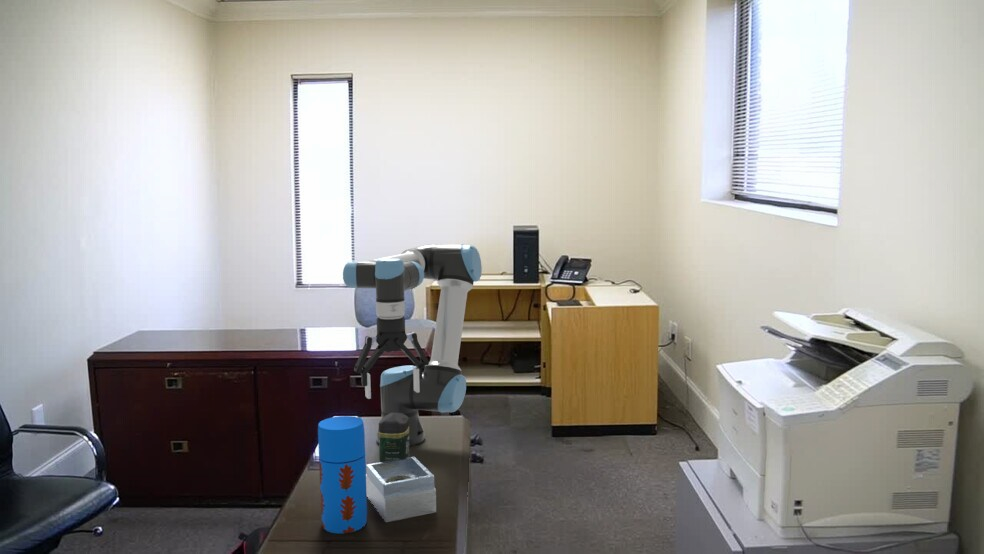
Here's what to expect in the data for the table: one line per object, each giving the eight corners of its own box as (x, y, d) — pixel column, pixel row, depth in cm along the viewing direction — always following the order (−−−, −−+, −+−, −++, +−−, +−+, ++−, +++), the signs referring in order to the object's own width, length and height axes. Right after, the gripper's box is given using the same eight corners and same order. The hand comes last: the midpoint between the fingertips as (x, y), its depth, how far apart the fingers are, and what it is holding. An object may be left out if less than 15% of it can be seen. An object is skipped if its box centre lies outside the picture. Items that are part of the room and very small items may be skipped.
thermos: (326, 537, 176) (322, 432, 173) (317, 518, 186) (313, 419, 183) (372, 528, 181) (369, 426, 177) (361, 510, 190) (358, 413, 187)
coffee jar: (406, 488, 204) (404, 421, 202) (376, 487, 205) (374, 420, 202) (413, 474, 213) (411, 410, 211) (385, 474, 214) (383, 409, 212)
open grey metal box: (413, 487, 204) (412, 455, 203) (436, 512, 189) (435, 477, 188) (366, 496, 199) (365, 463, 198) (385, 522, 184) (384, 486, 183)
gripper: (348, 322, 195) (350, 403, 197) (439, 315, 205) (441, 392, 208) (340, 318, 201) (343, 396, 204) (429, 311, 212) (431, 385, 214)
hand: (392, 394), depth 206 cm, fingers open, 13 cm apart
